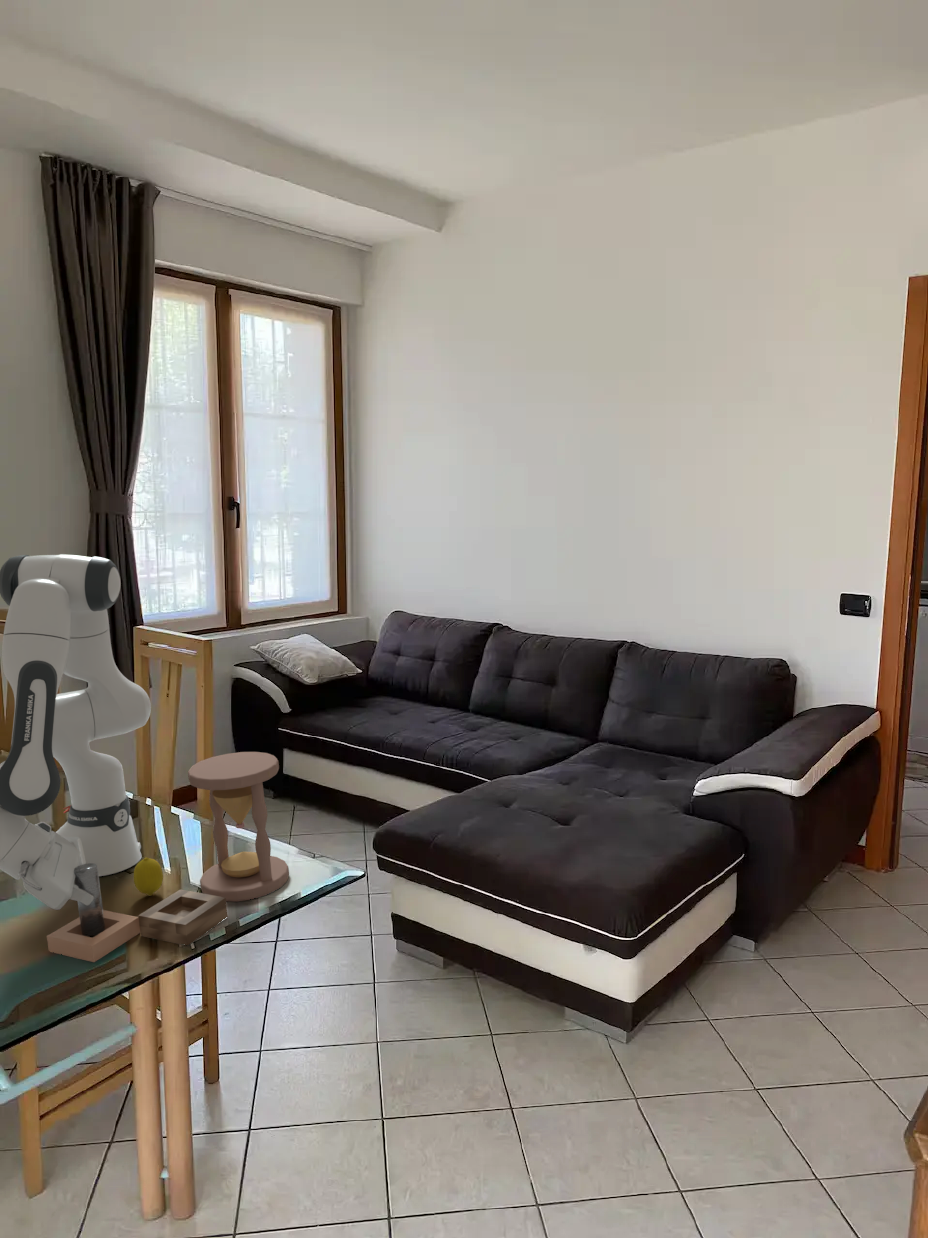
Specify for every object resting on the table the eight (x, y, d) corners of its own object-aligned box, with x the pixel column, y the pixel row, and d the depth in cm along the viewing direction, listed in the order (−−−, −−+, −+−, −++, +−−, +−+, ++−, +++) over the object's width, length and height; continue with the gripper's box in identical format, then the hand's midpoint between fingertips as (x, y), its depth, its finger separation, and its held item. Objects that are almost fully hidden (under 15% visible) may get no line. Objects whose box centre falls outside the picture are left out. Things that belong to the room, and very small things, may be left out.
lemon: (164, 898, 184) (160, 860, 183) (135, 904, 183) (130, 865, 181) (165, 887, 189) (160, 850, 188) (136, 892, 188) (132, 854, 187)
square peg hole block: (140, 936, 170) (138, 915, 169) (182, 908, 179) (180, 889, 179) (187, 946, 165) (185, 925, 164) (227, 917, 175) (225, 897, 174)
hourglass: (305, 881, 189) (294, 762, 184) (226, 911, 177) (213, 786, 173) (262, 857, 202) (251, 746, 198) (186, 884, 190) (172, 767, 186)
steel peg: (76, 933, 167) (68, 871, 165) (93, 923, 171) (85, 862, 169) (92, 937, 166) (84, 874, 164) (110, 927, 169) (102, 865, 167)
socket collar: (48, 951, 166) (46, 936, 165) (96, 923, 176) (94, 908, 175) (94, 962, 161) (91, 946, 161) (140, 932, 171) (138, 917, 170)
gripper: (30, 861, 153) (100, 905, 158) (45, 818, 173) (107, 858, 177) (4, 892, 153) (75, 935, 157) (22, 845, 172) (85, 884, 177)
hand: (92, 894), depth 167 cm, fingers closed on steel peg, 4 cm apart
